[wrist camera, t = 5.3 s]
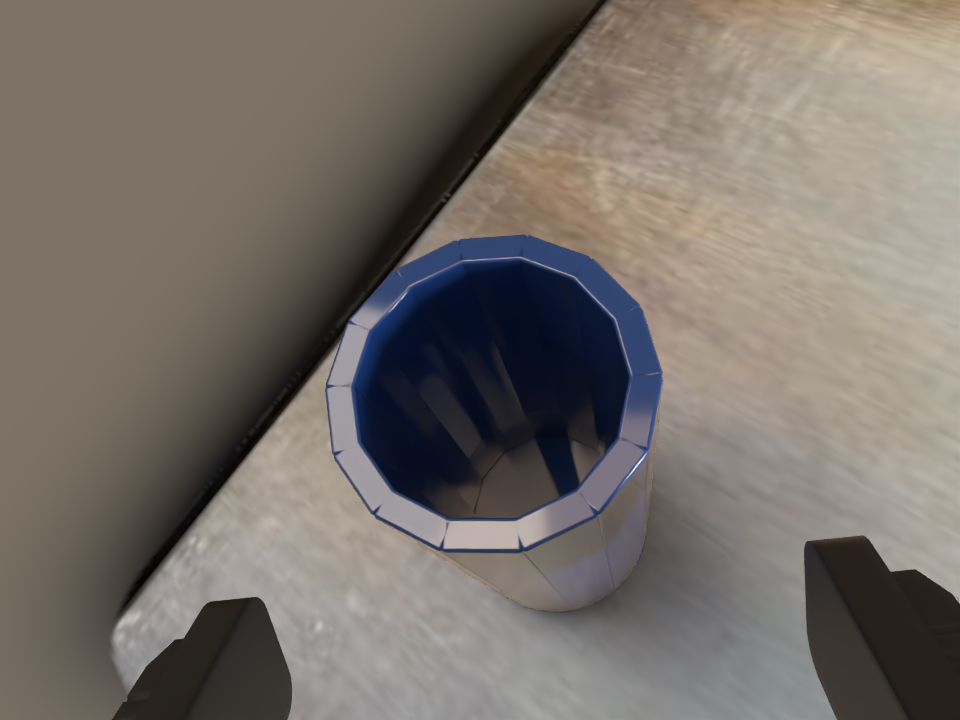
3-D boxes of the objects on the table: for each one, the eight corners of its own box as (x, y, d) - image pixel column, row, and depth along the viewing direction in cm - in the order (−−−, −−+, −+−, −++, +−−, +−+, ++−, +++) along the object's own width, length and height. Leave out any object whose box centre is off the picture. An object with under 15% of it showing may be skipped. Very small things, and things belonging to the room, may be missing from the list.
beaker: (540, 654, 18) (450, 634, 9) (430, 501, 20) (268, 362, 11) (687, 532, 19) (738, 401, 10) (566, 395, 21) (515, 179, 12)
